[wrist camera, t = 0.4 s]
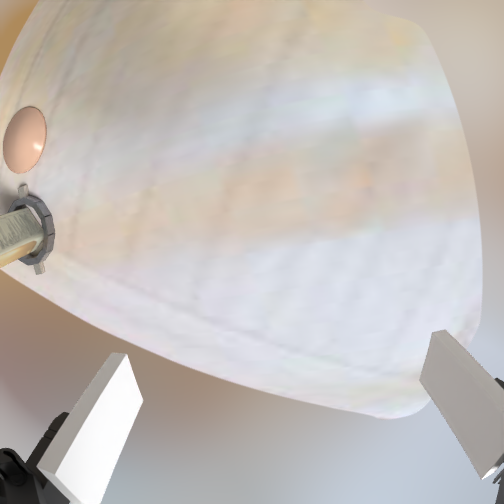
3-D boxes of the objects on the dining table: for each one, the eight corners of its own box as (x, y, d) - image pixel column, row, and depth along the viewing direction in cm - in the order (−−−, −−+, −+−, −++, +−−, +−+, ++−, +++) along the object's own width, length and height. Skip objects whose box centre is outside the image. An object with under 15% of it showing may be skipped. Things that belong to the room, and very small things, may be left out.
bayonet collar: (6, 194, 36) (-1, 195, 34) (45, 177, 35) (38, 178, 33) (23, 275, 39) (17, 278, 38) (64, 269, 39) (58, 272, 37)
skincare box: (17, 224, 37) (-33, 240, 25) (28, 206, 36) (-25, 220, 25) (36, 252, 38) (-13, 276, 27) (47, 235, 38) (-5, 257, 26)
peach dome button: (4, 121, 32) (2, 121, 32) (45, 97, 32) (43, 96, 31) (7, 180, 35) (5, 181, 34) (48, 162, 35) (46, 162, 34)
